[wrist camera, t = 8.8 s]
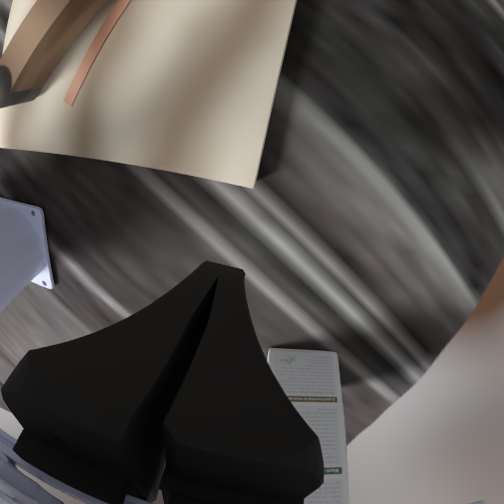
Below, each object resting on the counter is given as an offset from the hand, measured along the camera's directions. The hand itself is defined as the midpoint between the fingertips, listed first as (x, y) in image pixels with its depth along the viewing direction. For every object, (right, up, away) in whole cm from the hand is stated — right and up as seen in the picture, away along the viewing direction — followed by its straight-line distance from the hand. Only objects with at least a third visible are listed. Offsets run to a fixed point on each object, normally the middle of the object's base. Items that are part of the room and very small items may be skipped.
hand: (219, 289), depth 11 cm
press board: (-6, +16, +3) cm, 18 cm away
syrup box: (+5, -9, +15) cm, 18 cm away
